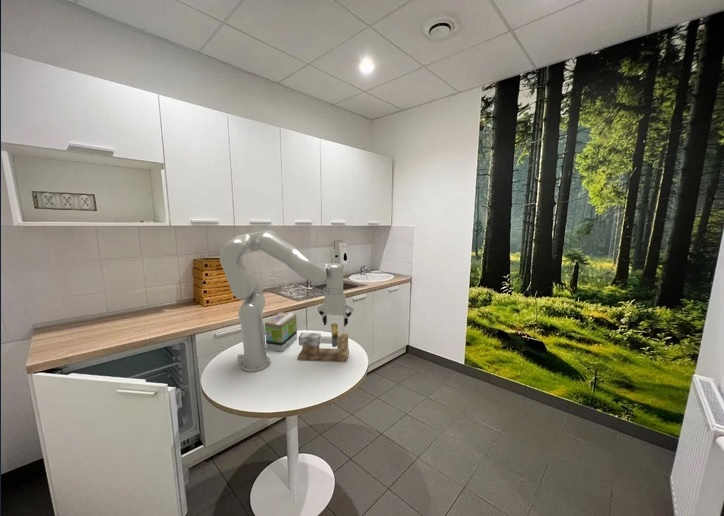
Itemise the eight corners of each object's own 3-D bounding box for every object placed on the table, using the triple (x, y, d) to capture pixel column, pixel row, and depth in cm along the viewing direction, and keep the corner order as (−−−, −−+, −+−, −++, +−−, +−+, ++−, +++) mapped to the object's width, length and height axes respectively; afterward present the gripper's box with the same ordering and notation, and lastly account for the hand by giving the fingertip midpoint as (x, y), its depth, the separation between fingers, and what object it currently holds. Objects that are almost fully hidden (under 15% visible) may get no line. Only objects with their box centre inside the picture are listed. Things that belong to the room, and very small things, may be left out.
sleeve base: (297, 359, 142) (296, 339, 140) (303, 350, 151) (302, 330, 148) (346, 362, 139) (345, 341, 137) (349, 352, 148) (348, 332, 146)
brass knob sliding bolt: (312, 345, 142) (311, 325, 140) (315, 341, 146) (314, 321, 144) (342, 347, 140) (341, 326, 138) (344, 342, 145) (343, 322, 143)
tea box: (283, 352, 149) (281, 324, 146) (266, 349, 152) (263, 322, 149) (297, 338, 163) (296, 313, 160) (281, 336, 166) (279, 311, 163)
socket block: (337, 356, 141) (336, 338, 139) (339, 351, 146) (338, 333, 144) (346, 357, 141) (346, 338, 139) (348, 351, 146) (348, 333, 144)
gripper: (314, 291, 134) (315, 327, 138) (352, 293, 133) (352, 329, 136) (318, 286, 142) (319, 320, 145) (354, 288, 140) (354, 322, 143)
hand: (335, 324), depth 141 cm, fingers open, 9 cm apart
